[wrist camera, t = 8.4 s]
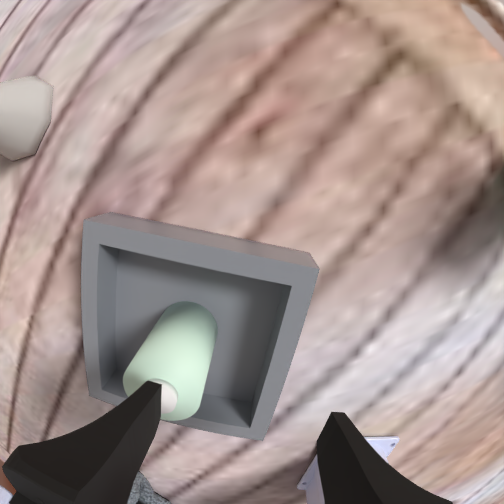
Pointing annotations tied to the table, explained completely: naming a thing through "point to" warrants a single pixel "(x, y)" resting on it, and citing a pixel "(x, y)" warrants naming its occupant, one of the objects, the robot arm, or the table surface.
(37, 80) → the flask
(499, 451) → the table surface
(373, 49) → the table surface
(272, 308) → the bin
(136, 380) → the cylinder
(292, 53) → the table surface
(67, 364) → the table surface
